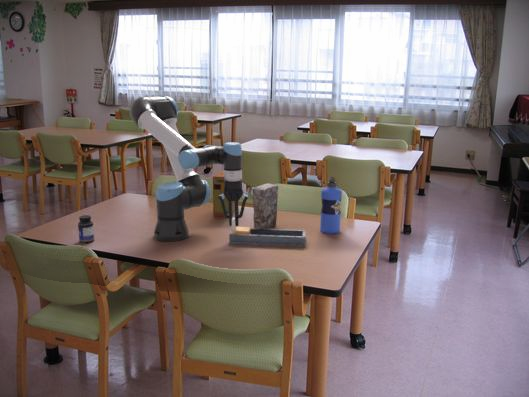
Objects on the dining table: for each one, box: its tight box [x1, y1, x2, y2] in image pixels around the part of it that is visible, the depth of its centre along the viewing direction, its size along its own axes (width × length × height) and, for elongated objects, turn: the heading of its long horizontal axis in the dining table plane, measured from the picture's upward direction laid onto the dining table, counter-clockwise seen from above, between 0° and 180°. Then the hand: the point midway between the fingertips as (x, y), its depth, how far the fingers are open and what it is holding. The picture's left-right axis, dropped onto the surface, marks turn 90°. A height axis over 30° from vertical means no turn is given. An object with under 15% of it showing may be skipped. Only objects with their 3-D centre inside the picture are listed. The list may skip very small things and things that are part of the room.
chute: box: [228, 227, 307, 248], centre depth 230 cm, size 32×12×4 cm, turn 85°
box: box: [212, 169, 235, 217], centre depth 274 cm, size 17×9×20 cm, turn 172°
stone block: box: [252, 182, 279, 229], centre depth 248 cm, size 13×7×20 cm, turn 151°
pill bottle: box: [77, 214, 95, 243], centre depth 228 cm, size 6×6×11 cm
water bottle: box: [319, 176, 343, 235], centre depth 243 cm, size 9×9×25 cm
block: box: [235, 226, 252, 234], centre depth 231 cm, size 6×6×4 cm
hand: (234, 233), depth 231 cm, fingers closed
